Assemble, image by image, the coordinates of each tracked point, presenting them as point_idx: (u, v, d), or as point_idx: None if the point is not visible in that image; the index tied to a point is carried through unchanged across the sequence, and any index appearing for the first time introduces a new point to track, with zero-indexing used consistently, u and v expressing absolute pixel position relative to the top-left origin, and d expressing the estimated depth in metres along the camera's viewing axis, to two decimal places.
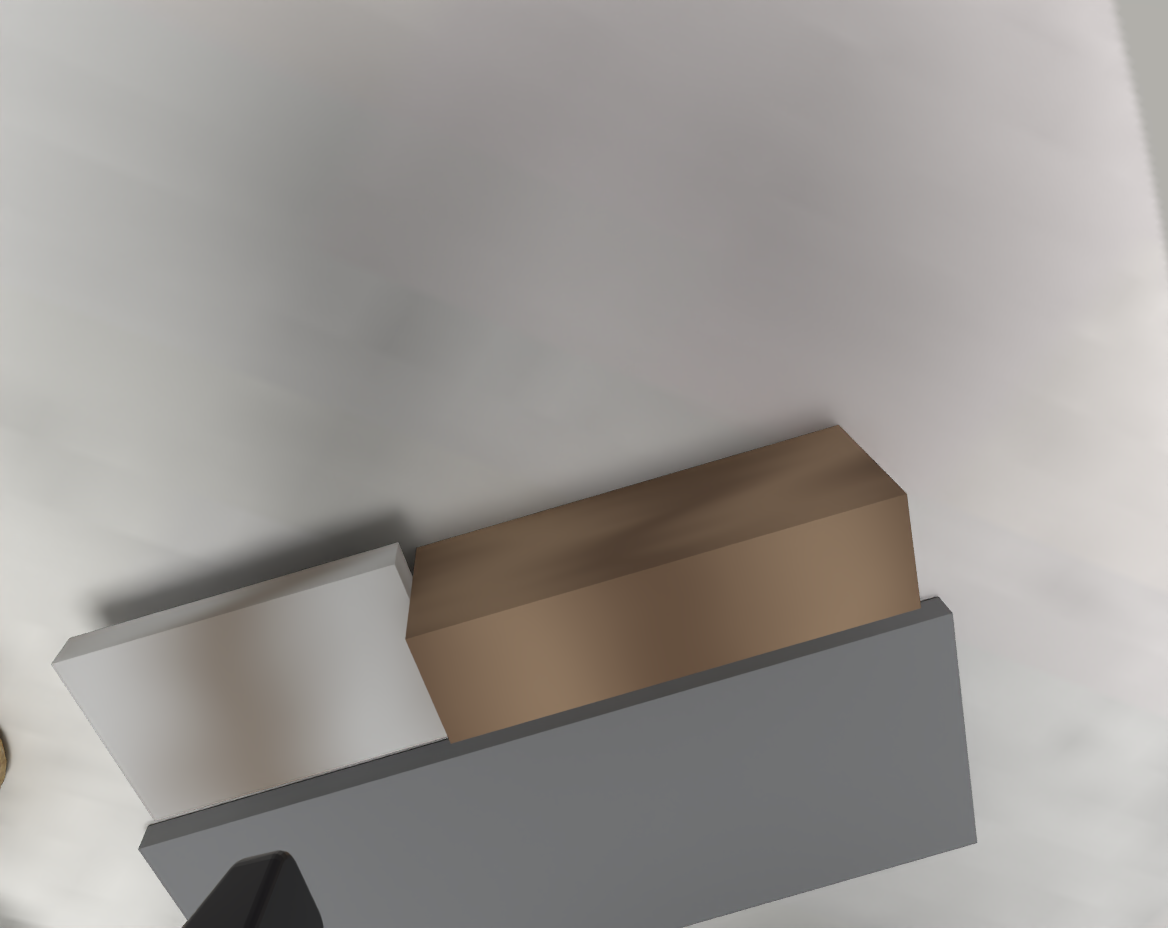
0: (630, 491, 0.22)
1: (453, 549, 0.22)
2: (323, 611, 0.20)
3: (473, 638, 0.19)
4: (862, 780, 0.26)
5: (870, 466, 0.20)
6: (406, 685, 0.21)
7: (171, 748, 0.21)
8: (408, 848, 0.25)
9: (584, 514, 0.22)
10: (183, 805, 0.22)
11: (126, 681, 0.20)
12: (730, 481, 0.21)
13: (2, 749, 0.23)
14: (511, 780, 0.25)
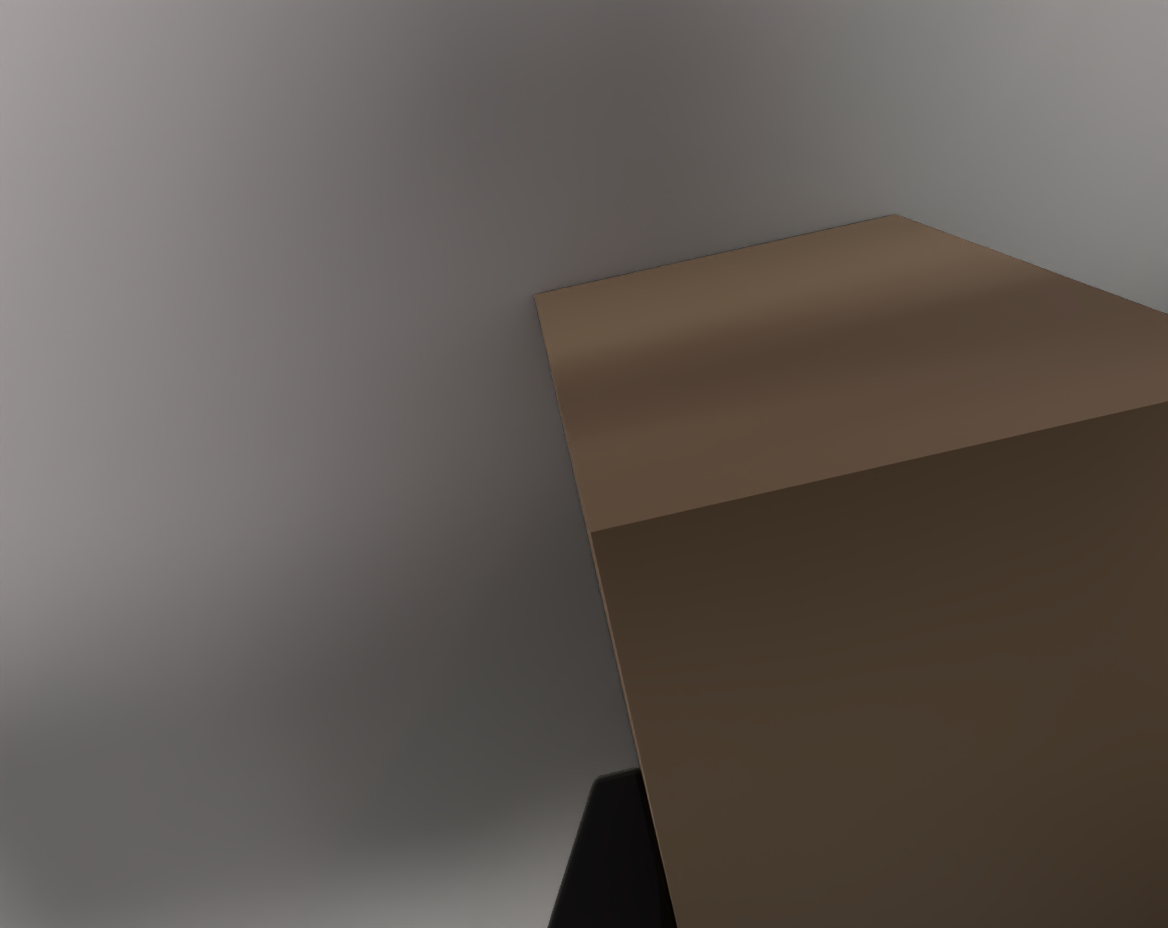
0: None
1: None
2: None
3: None
4: None
5: (565, 429, 0.05)
6: None
7: None
8: None
9: None
10: None
11: None
12: None
13: None
14: None
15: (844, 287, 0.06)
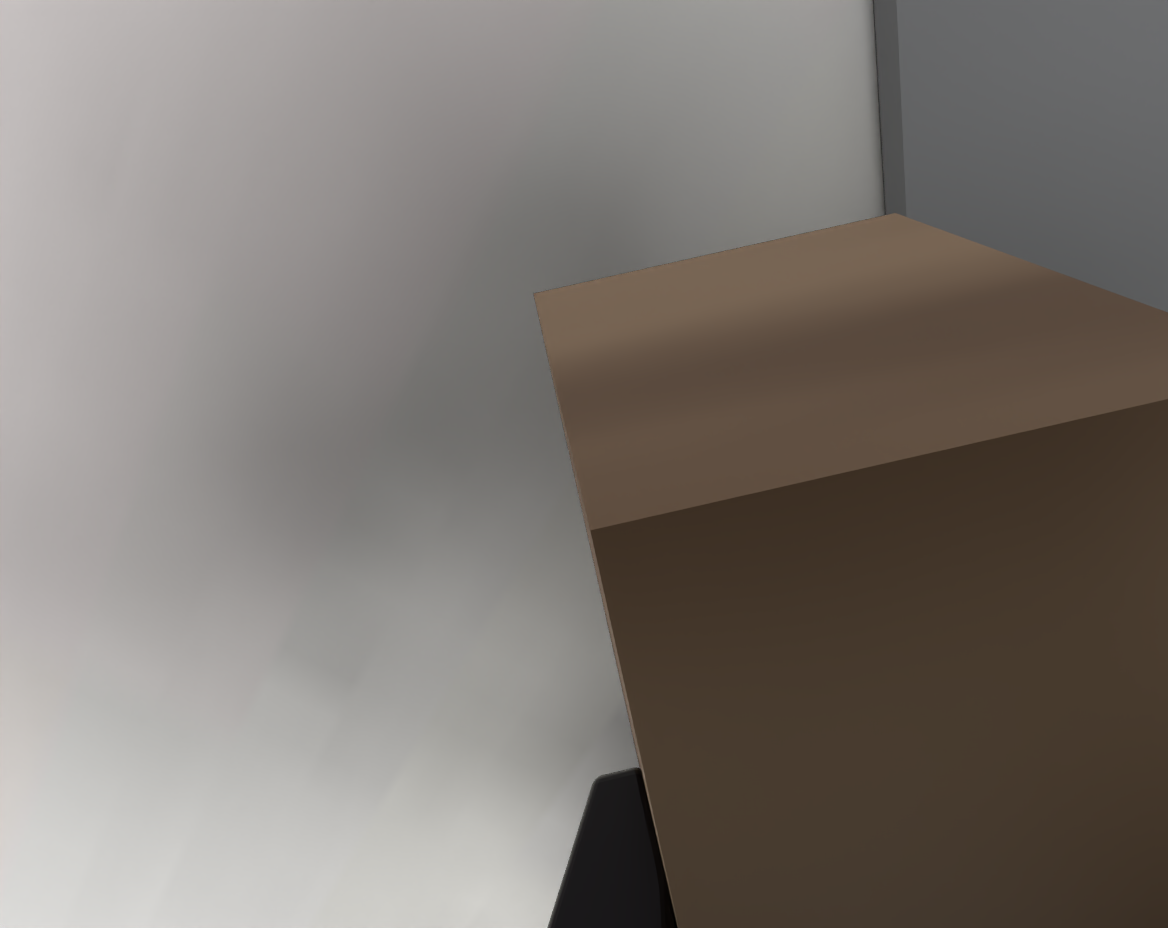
0: None
1: None
2: None
3: None
4: None
5: (564, 428, 0.05)
6: None
7: None
8: None
9: None
10: None
11: None
12: None
13: None
14: None
15: (844, 285, 0.06)
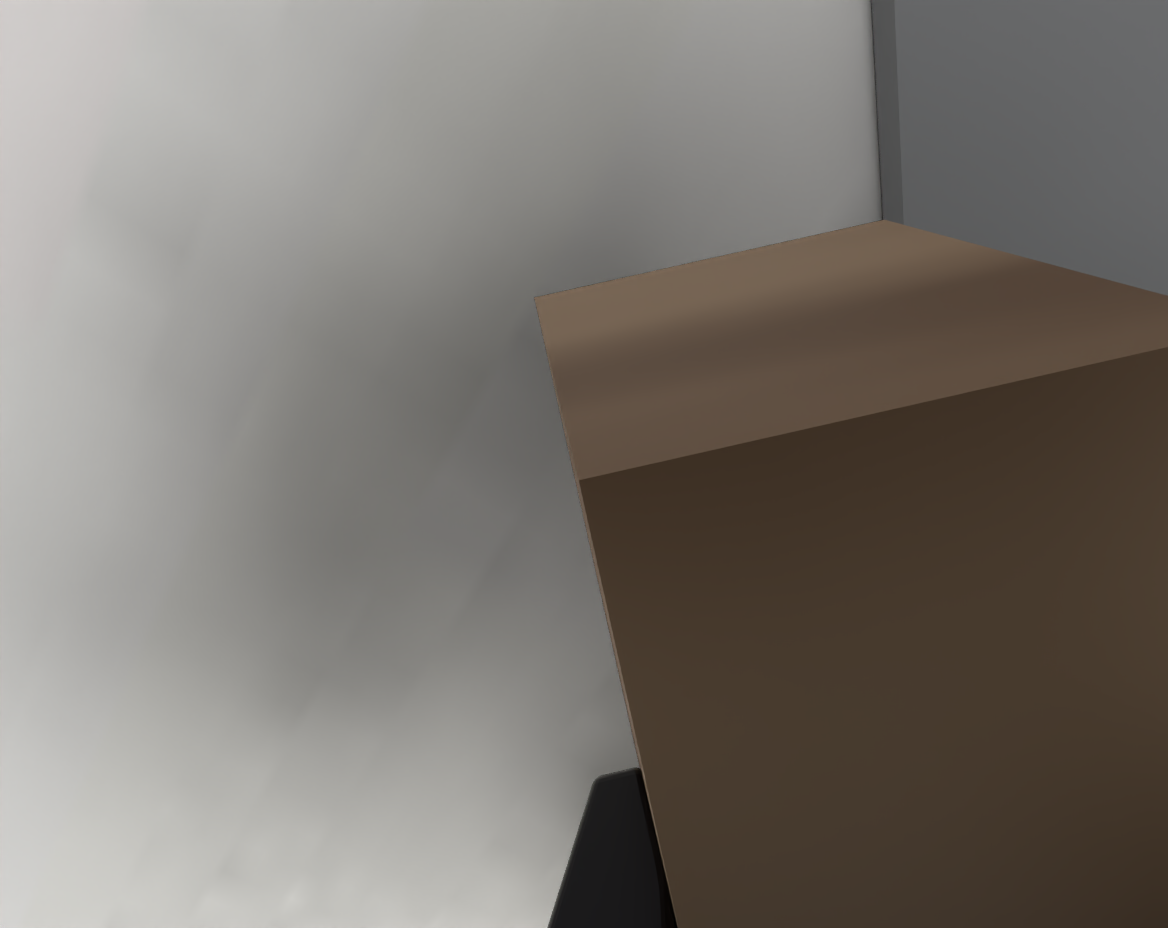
0: None
1: None
2: None
3: None
4: None
5: (560, 407, 0.05)
6: None
7: None
8: None
9: None
10: None
11: None
12: (625, 701, 0.07)
13: None
14: (987, 144, 0.14)
15: (832, 279, 0.06)
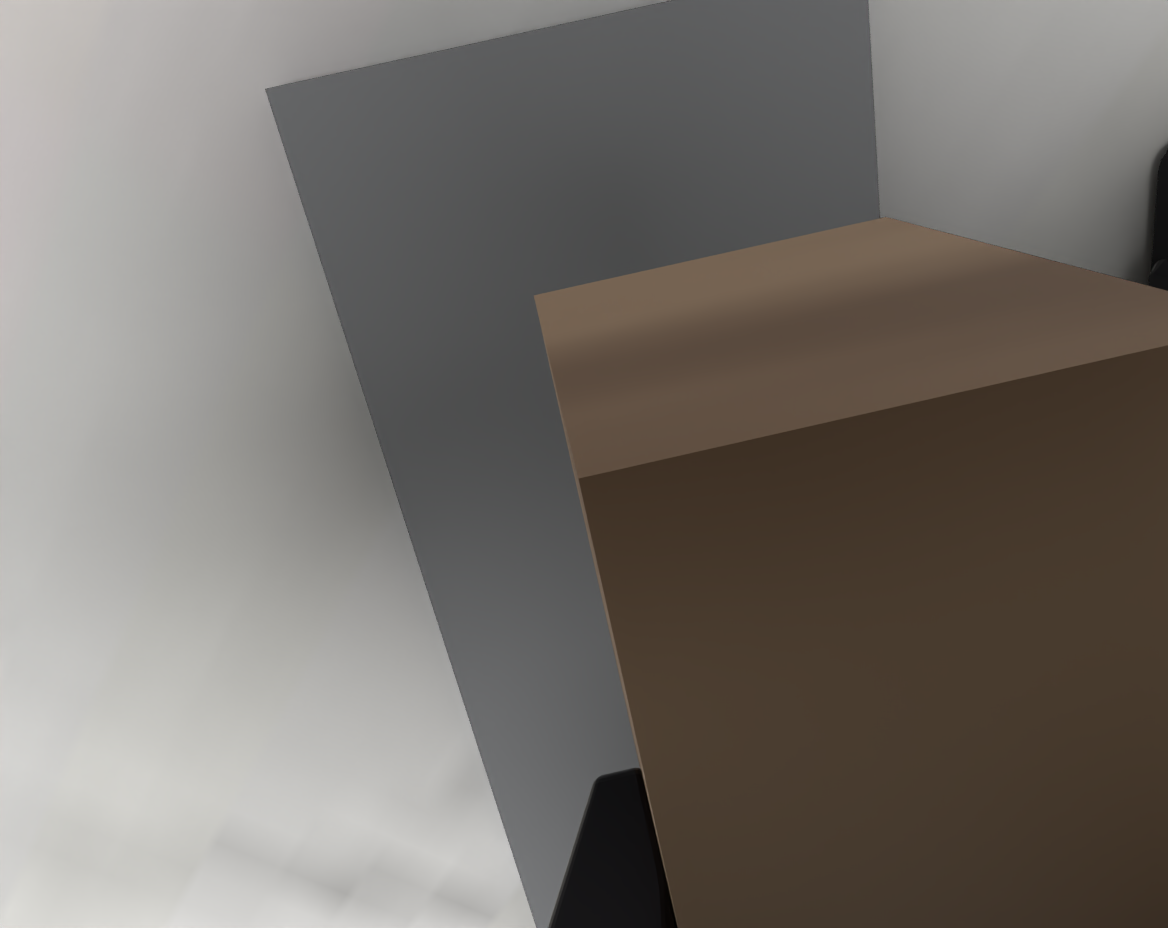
0: None
1: None
2: None
3: None
4: (640, 232, 0.14)
5: None
6: None
7: None
8: None
9: None
10: None
11: None
12: (626, 702, 0.07)
13: None
14: (544, 735, 0.18)
15: (834, 277, 0.06)
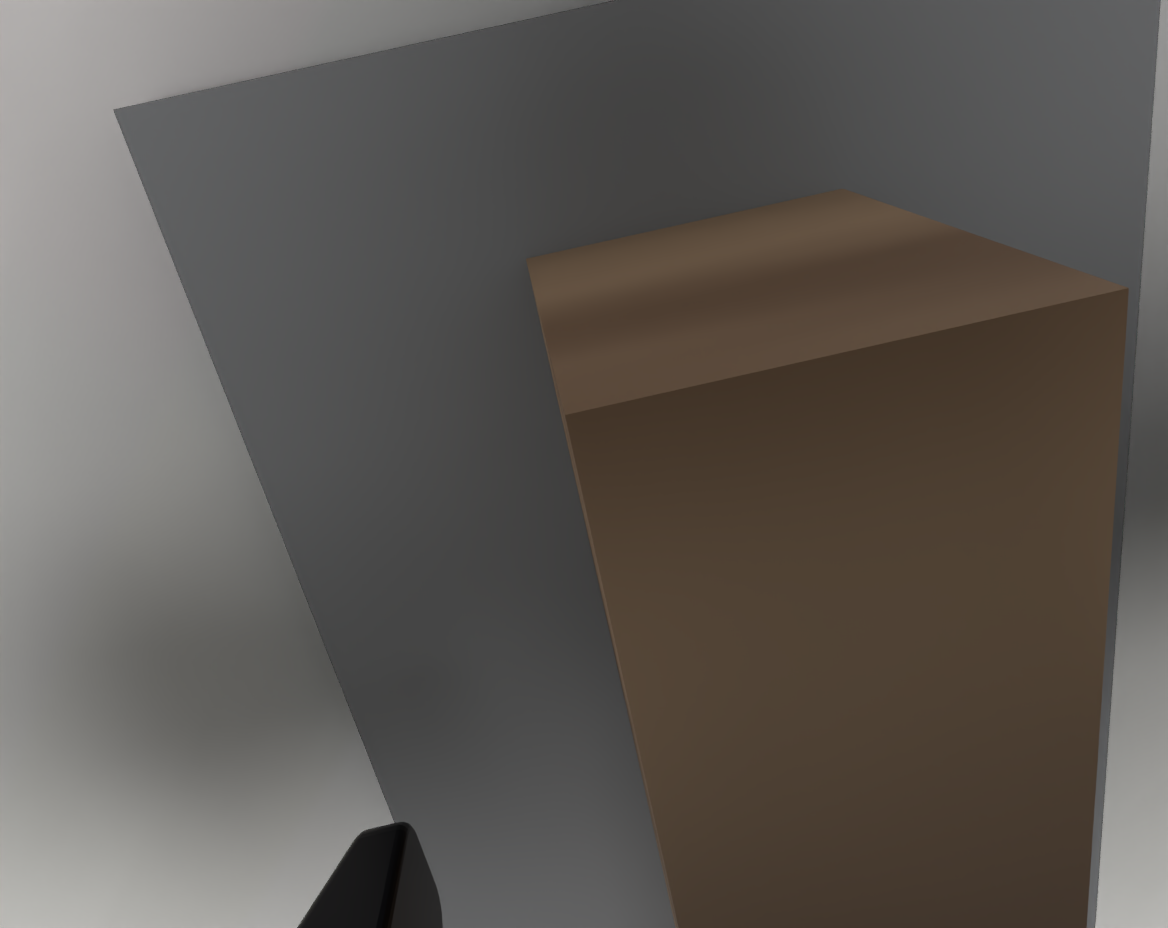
0: (633, 738, 0.10)
1: None
2: None
3: None
4: None
5: (549, 357, 0.06)
6: None
7: None
8: None
9: (658, 849, 0.10)
10: None
11: None
12: (607, 621, 0.08)
13: None
14: None
15: (789, 245, 0.07)
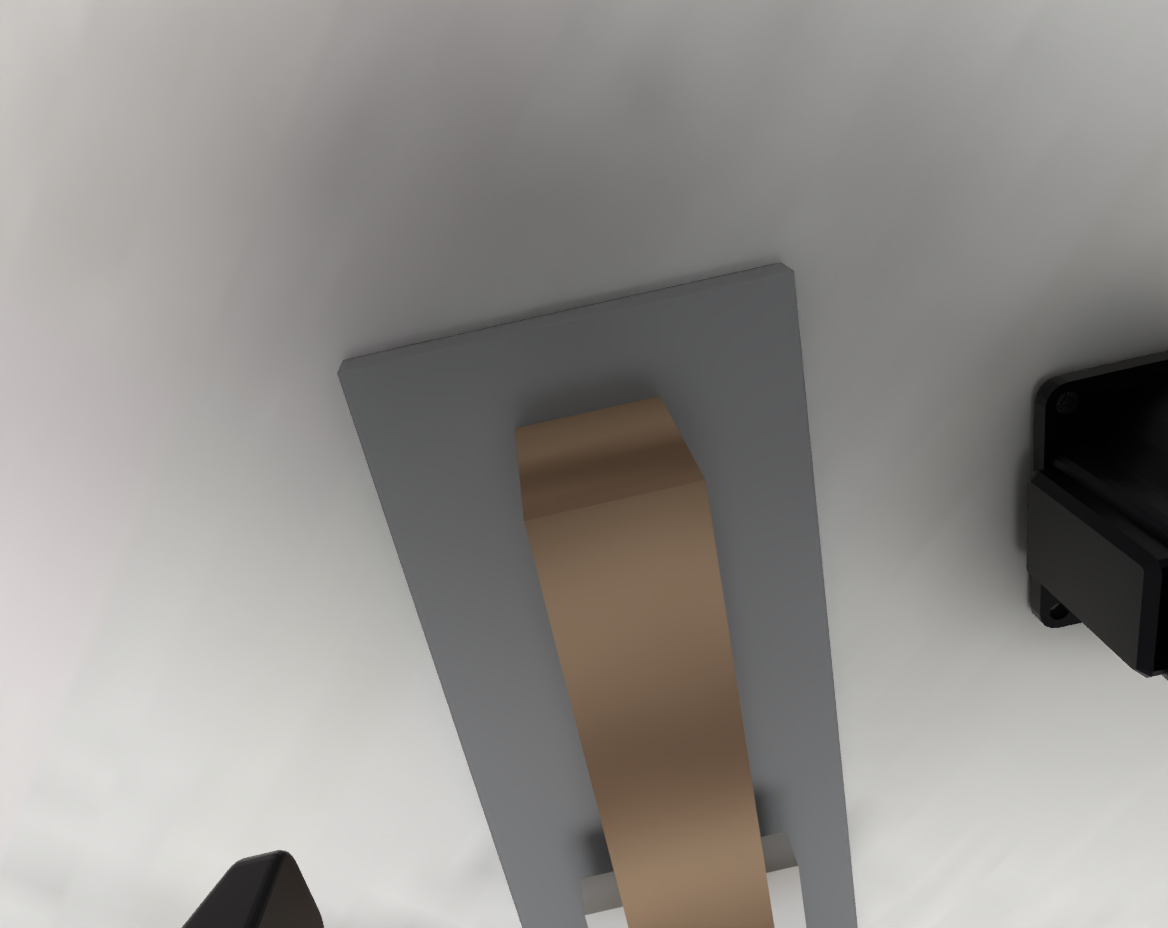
0: None
1: None
2: None
3: (648, 917, 0.18)
4: None
5: None
6: None
7: None
8: None
9: None
10: None
11: None
12: None
13: None
14: (547, 832, 0.23)
15: (621, 437, 0.17)
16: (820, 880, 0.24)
